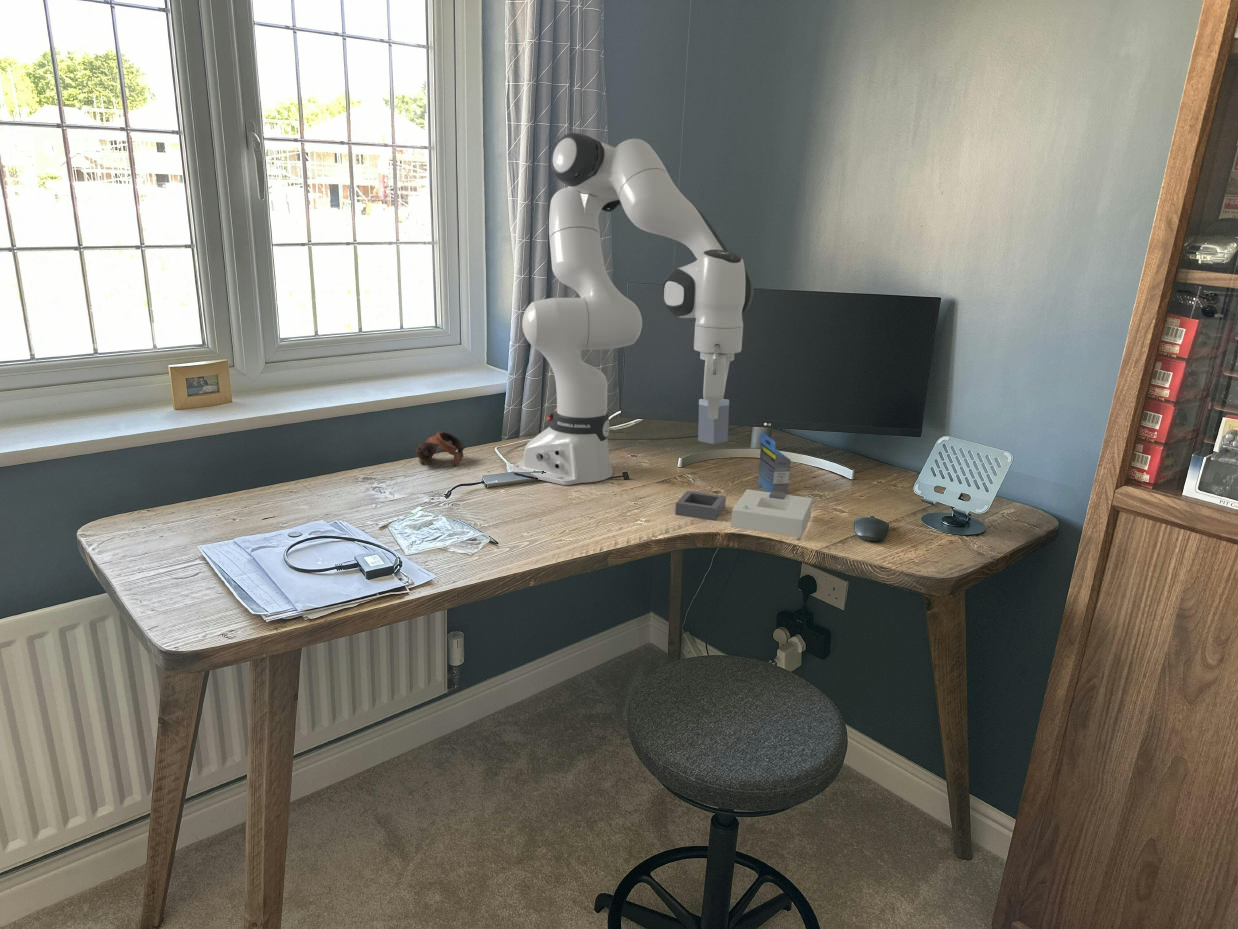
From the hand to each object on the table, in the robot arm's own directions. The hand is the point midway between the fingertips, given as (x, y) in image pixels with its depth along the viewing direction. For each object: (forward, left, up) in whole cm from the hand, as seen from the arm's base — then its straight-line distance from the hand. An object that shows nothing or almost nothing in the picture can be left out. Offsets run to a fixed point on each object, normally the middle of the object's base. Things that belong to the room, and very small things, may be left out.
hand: (713, 414), depth 158 cm
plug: (0, 0, -5) cm, 5 cm away
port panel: (+12, 0, -20) cm, 24 cm away
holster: (-2, 0, -20) cm, 20 cm away
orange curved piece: (-66, +7, -21) cm, 69 cm away
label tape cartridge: (+9, +20, -21) cm, 30 cm away
